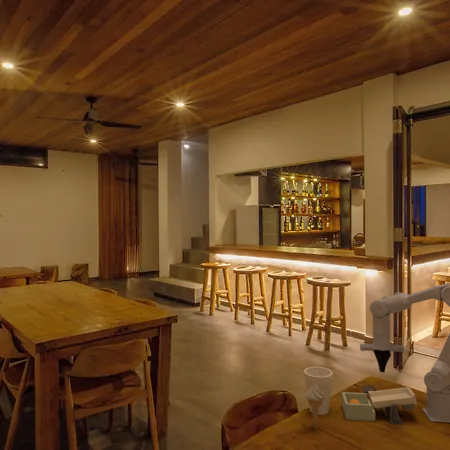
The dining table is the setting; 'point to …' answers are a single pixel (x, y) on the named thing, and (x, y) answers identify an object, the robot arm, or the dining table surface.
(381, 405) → the lever board
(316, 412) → the ice cream cone
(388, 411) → the lever stand
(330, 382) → the foam cup
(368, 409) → the cup
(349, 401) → the ball
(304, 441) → the dining table surface
